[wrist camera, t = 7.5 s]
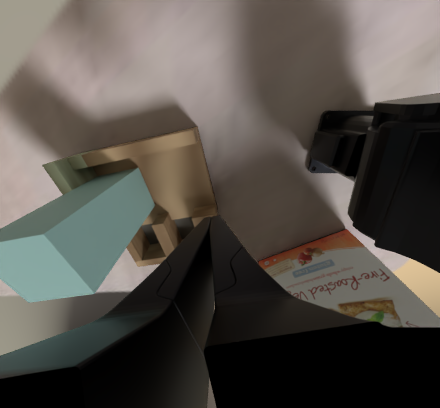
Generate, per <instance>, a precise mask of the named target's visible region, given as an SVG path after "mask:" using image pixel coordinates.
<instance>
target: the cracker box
mask: <svg viewBox="0 0 440 408" xmlns="http://www.w3.org/2000/svg"><path fill="white" fill-rule="evenodd" d="M258 263H259V265H260V266H261V267H262V268H263V269H264V270H265V271H266V272H267V273H268V274H269V275H270V276H271V277H272V278H273V279H274V280H275V281H276V282H277V283H279V284H280V285H281V286H282V287H283V288H284V289H285V290H286V291H287V292H289V293H290V294H291V295H293V296H295V297H297V298H299V299H301V300H304V301H307V302H310V303H313V304H316V305H319V306H322V307H325V308H328V309H331V310H334V311H337V312H340V313H342V314H345V315H348V316H352V317H355V318H359V319H364V320H369V321H377V322H380V323H381V324H382V325H385V326H389V327H440V318H439V317H438V316H437V315H436V314H435V313H434V312H433V311H432V310H431V309H430V308H429V307H428V306H427V305H425V303H424V302H423V301H422V300H420V299H419V298H418V297H417V296H416V295H415V294H414V293H413V292H412V291H411V290H410V289H409V288H408V287H407V286H406V285H405V284H404V283H403V282H402V281H401V280H400V279H399V278H397V276H395V275H394V274H393V273H392V272H391V271H390V270H389V269H388V268H387V267H386V266H385V265H384V264H383V263H382V262H381V261H380V260H379V259H378V258H377V257H376V256H375V255H374V254H372V253H371V252H370V251H369V250H368V249H367V248H366V247H365V246H364V245H363V244H362V243H361V242H360V241H359V240H358V239H357V238H356V237H355V236H353V235H352V234H351V233H350V232H349V231H348V230H347V229H345V230H343V231H340V232H338V233H335V234H332V235H329V236H327V237H324V238H321V239H319V240H316V241H313V242H310V243H307V244H305V245H302V246H299V247H297V248H294V249H291V250H288V251H285V252H283V253H280V254H277V255H275V256H272V257H269V258H266V259H263V260H261V261H259V262H258Z"/></svg>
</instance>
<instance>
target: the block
mask: <svg viewBox="0 0 440 408" xmlns="http://www.w3.org/2000/svg"><path fill="white" fill-rule="evenodd" d="M154 206H155V204H154V202H153V200H152V197H151V195H150V193H149V190H148V188H147V186H146V184H145V181H144V179H143V177H142V174H141V172H140V170H139V168H134V169H129V170H125V171H120V172H115V173H110V174H106V175H101V176H97V177H96V178H94V179H92V180H90V181H88V182H86V183H84V184H83V185H81V186H79V187H77V188H75V189H73V190H72V191H70V192H68V193H66V194H64V195H62V196H60V197H59V198H57V199H55V200H53V201H51V202H49V203H47V204H46V205H44V206H42V207H40V208H38V209H36V210H35V211H33V212H31V213H29V214H27V215H25V216H23V217H22V218H20V219H18V220H16V221H14V222H12V223H10V224H9V225H7V226H5V227H3V228H1V229H0V279H1V280H2V281H3V282H5V283H6V284H7V285H8V286H9V287H11V288H12V289H13V290H14V291H15V292H16V293H18V294H19V295H20V296H21V297H22V298H24V299H25V300H26V301H27V302H37V301H44V300H51V299H58V298H66V297H73V296H80V295H88V294H95V292H96V291H97V289H98V288H99V286H100V285H101V284H102V282H103V281H104V279H105V278H106V276H107V275H108V273H109V272H110V270H111V269H112V268H113V266H114V265H115V263H116V262H117V260H118V259H119V257H120V256H121V254H122V253H123V252H124V250H125V249H126V247H127V246H128V244H129V243H130V241H131V240H132V238H133V237H134V235H135V234H136V233H137V231H138V230H139V228H140V227H141V225H142V224H143V222H144V221H145V219H146V218H147V217H148V215H149V214H150V212H151V211H152V209H153V208H154Z"/></svg>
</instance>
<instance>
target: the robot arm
mask: <svg viewBox="0 0 440 408" xmlns="http://www.w3.org/2000/svg"><path fill="white" fill-rule="evenodd" d="M327 114H328V115H329V116H328V118H327V119H326V115H327ZM310 156H311V159H310V163H309V167H308V170H309V171H310V172H311V173H339V174H341V175H343V176H344V177H346V178H348V179H350V180H352V181H354V182H355V183H354V187H353V191H352V195H351V199H350V203H349V207H348V215H349V217H350V218H351V220H352V221H353V227H355V228H356V229H357V230H358V231H360V232H361V233H362V234H364V235H366V236H368V237H370V238H371V239H373V240H375V244H374V245H375V246H376V247H378V248H381V249H385V250H388V251H392V252H396V253H398V254H401V255H403V256H406V257H408V258H411V259H413V260H416V261H418V262H420V263H422V264H424V265H426V266H428V267H430V268H431V269H433V270H435V271H437V272H439V273H440V93H436V94H429V95H423V96H416V97H409V98H403V99H396V100H389V101H382V102H376V103H375V106H374V110H373V111H325V112H323V114H322V116H321V119H320V123H319V127H318V131H317V132H316V133H315V137H314V141H313V145H312V149H311V153H310ZM313 167H315V168H314V169H313V170H312V168H313ZM214 302H215V310H214ZM209 378H210V381H211V386H212V390H213V394H214V398H215V403H216V407H217V408H440V327H389V326H385V325H382V324H381V323H380V322H377V321H369V320H364V319H359V318H355V317H352V316H348V315H345V314H342V313H340V312H337V311H334V310H331V309H328V308H325V307H322V306H319V305H316V304H313V303H310V302H307V301H304V300H301V299H299V298H297V297H295V296H293V295H291V294H290V293H289V292H287V291H286V290H285V289H284V288H283V287H282V286H281V285H280V284H279V283H277V282H276V281H275V280H274V279H273V278H272V277H271V276H270V275H269V274H268V273H267V272H266V271H265V270H264V269H263V268H262V267H261V266H260V265H259V264H258V263H257V262H256V261H255V260H254V259H253V258H252V257H251V256H250V254H249V253H248V252H247V251H246V249H245V248H244V247H243V245H242V244H241V243H240V241H239V240H238V239H237V237H236V236H235V235H234V233H233V232H232V231H231V229H230V228H229V227H228V226H227V224H226V223H225V222H224V220H223V219H222V218H221V216H220V215H217V216H212V217H205V218H203V219H202V220H201V221H200V223H199V224H198V225H197V226H196V227H195V228H194V229H193V230H192V231H191V232H190V233H189V234H188V235H187V236H186V237H185V238H184V240H183V241H182V242H181V243H180V244H179V245H178V246H177V247H176V248H175V249H174V250H173V251H172V252H171V253H170V254H169V255H168V257H167V258H166V259H165V260H164V261H163V262H162V263H161V264H160V265H159V266H158V267H157V268H156V269H155V270H154V271H153V272H152V273H151V274H150V275H149V276H148V277H147V278H146V279H145V280H144V281H143V282H142V283H141V284H139V285H138V286H137V287H136V288H135V289H134V290H133V291H132V292H131V293H130V294H129V295H127V296H126V297H125V298H124V299H123V300H122V301H121V302H120V303H119V304H118V305H116V306H115V307H114V308H113V309H112V310H111V311H109V312H108V313H107V314H105V315H104V316H103V317H101V318H99V319H98V320H96V321H94V322H92V323H90V324H87V325H84V326H82V327H79V328H76V329H73V330H71V331H68V332H65V333H62V334H59V335H57V336H54V337H51V338H48V339H46V340H43V341H40V342H38V343H35V344H32V345H29V346H26V347H24V348H21V349H18V350H15V351H13V352H10V353H7V354H4V355H1V356H0V408H207V401H208V387H209Z"/></svg>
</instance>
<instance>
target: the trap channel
mask: <svg viewBox="0 0 440 408" xmlns="http://www.w3.org/2000/svg"><path fill="white" fill-rule="evenodd" d="M42 166H43V167H44V169H45V170H46V171H47V173H48V174H49V176H50V177H51V178H52V180H53V181H54V183H55V184H56V186H57V187H58V188H59V190H60V191H61V193H62V194H63V195H64V194H66V193H68V192H70V191H72V190H73V189H75V188H77V187H79V186H81V185H83V184H84V183H86V182H88V181H90V180H92V179H94V178H96V177H97V176H101V175H106V174H110V173H115V172H120V171H125V170H129V169H134V168H139V170H140V172H141V174H142V177H143V179H144V181H145V184H146V186H147V188H148V190H149V193H150V195H151V197H152V200H153V202H154V204H155V206H154V208H153V209H152V211H151V212H150V214H149V215H148V217H147V218H146V219H145V221H144V222H143V224H142V225H141V227H140V228H139V230H138V231H137V233H136V234H135V235H134V237H133V238H132V240H131V241H130V243H129V244H128V246H127V247H126V248H127V249H128V251H129V253H130V254H131V256H132V258H133V259H134V261H135V262H136V264H137V266H138V267H140V266H147V265H154V264H160V263H162V262H163V261H164V260H165V259H166V258H167V257H168V255H169V254H170V253H171V252H172V251H173V250H174V249H175V248H176V247H177V246H178V245H179V244H180V243H181V242H182V241H183V240H184V238H185V237H186V236H187V235H188V234H189V233H190V232H191V231H192V230H193V229H194V228H195V227H196V226H197V225H198V224H199V223H200V221H201V220H202V219H203V218H205V217H212V216H217V204H216V200H215V196H214V192H213V188H212V184H211V180H210V176H209V172H208V168H207V164H206V160H205V156H204V151H203V147H202V143H201V139H200V135H199V131H198V127H193V128H189V129H185V130H180V131H176V132H171V133H167V134H163V135H158V136H154V137H149V138H145V139H141V140H136V141H132V142H127V143H123V144H119V145H114V146H110V147H105V148H101V149H97V150H92V151H88V152H83V153H80V154H76V155H73V156H70V157H67V158H63V159H60V160H57V161H54V162H51V163H47V164H44V165H42Z"/></svg>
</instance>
